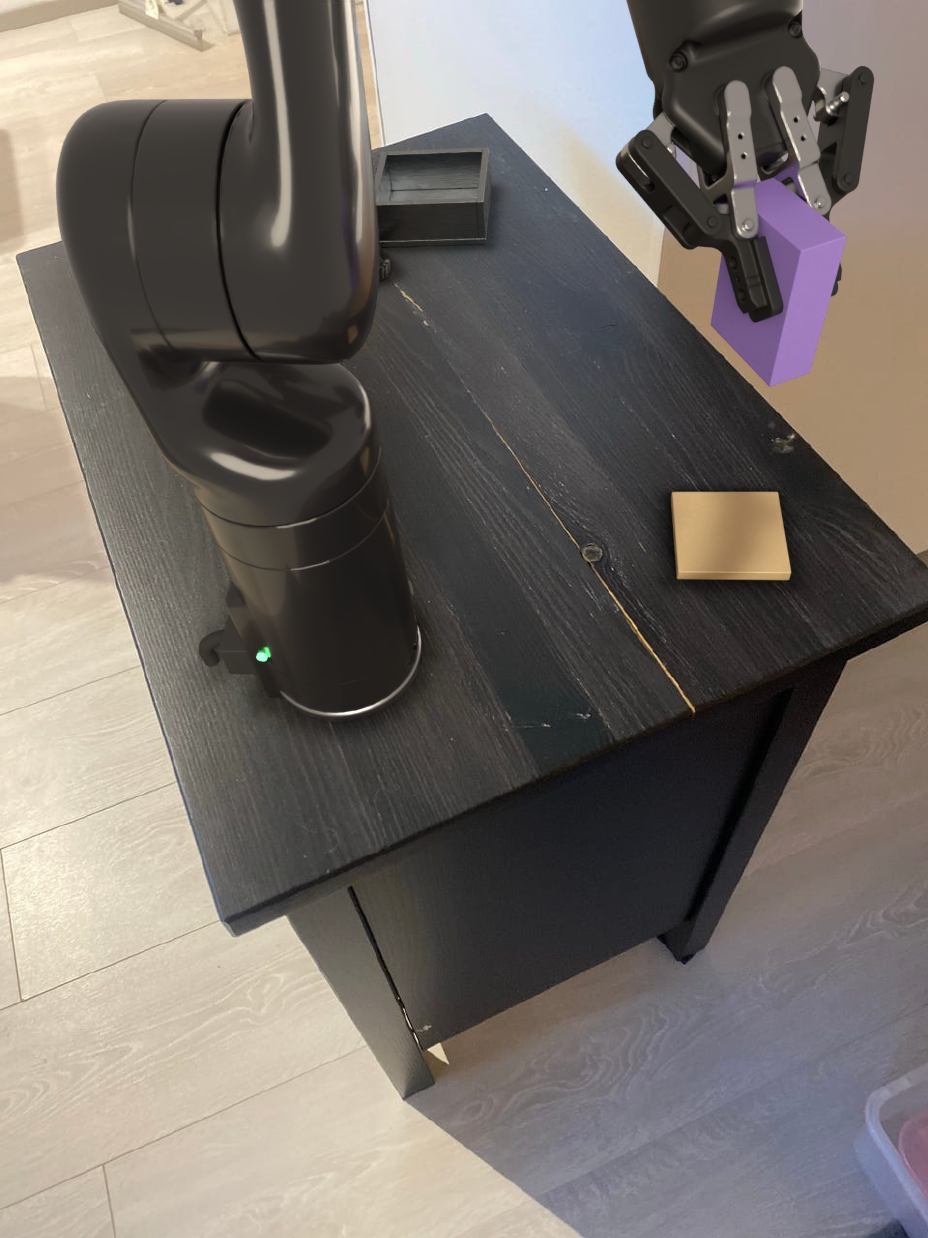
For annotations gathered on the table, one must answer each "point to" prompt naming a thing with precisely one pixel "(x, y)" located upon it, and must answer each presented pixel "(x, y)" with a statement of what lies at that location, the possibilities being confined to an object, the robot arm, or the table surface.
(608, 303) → the table surface
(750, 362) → the purple rectangular block
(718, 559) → the coaster
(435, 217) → the black tray
